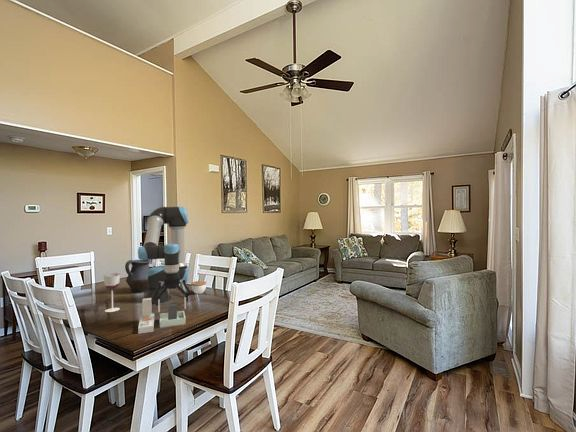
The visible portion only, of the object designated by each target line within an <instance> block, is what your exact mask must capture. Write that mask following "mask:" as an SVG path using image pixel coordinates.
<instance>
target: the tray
mask: <svg viewBox="0 0 576 432" xmlns="http://www.w3.org/2000/svg"><path fill="white" fill-rule="evenodd" d="M186 320H187V319H186V313H185V310H177V319H172V320H168V312H165V313H164V312H163V313H159V329H163V328H169V327H177V326H184V325H185V326H186V323H187V322H186Z"/></svg>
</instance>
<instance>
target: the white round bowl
mask: <svg viewBox="0 0 576 432" xmlns="http://www.w3.org/2000/svg"><path fill="white" fill-rule="evenodd" d="M206 288H207V282H206V281H204V280H196V281H193V282H191V290H192V292H193V293H194V294H195V295H200V294H203V293H205V291H206Z"/></svg>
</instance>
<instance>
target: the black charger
mask: <svg viewBox="0 0 576 432" xmlns="http://www.w3.org/2000/svg"><path fill="white" fill-rule="evenodd" d="M167 309H168V310H167V313H168V320H172V319H177V312H178V310H177V309H178V306H177V302H170V303H167Z"/></svg>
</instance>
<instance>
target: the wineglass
mask: <svg viewBox="0 0 576 432" xmlns="http://www.w3.org/2000/svg"><path fill="white" fill-rule="evenodd" d="M120 277H121V274H120V273H118V272H115V273H106V274H103V283H104V287H105V288H106V289H107V290H110V292H111V294H110V295H111V297H110V299H111V308H108V309H107V308H106V309H105V310H104V312H106V313H112V312H113V313H114V312H117V311H119V310H121V308H120V307H114V291H115V289H117V287H119V285H120V280H121V278H120Z"/></svg>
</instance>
